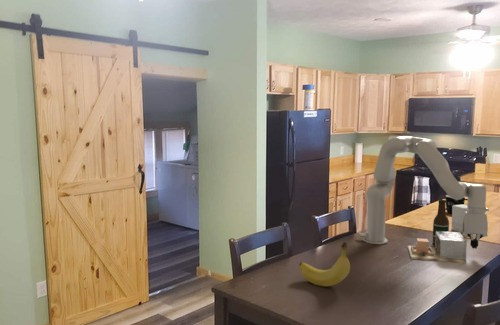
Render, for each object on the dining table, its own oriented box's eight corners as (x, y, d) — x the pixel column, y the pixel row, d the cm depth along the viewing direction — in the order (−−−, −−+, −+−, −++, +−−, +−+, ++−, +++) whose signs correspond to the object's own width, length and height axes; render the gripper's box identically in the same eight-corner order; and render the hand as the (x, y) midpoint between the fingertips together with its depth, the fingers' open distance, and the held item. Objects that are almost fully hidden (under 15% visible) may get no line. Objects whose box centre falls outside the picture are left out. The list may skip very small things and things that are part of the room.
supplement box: (474, 231, 244) (476, 206, 243) (463, 233, 241) (464, 208, 239) (461, 228, 253) (463, 203, 251) (450, 229, 249) (452, 205, 248)
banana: (295, 280, 173) (295, 233, 171) (303, 276, 178) (303, 230, 175) (345, 295, 159) (346, 244, 156) (352, 290, 163) (353, 240, 161)
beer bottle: (450, 247, 216) (452, 201, 214) (434, 246, 218) (435, 201, 215) (446, 242, 224) (448, 198, 221) (430, 241, 225) (432, 198, 223)
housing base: (410, 258, 199) (411, 253, 199) (407, 247, 216) (407, 242, 216) (466, 263, 192) (466, 257, 192) (458, 251, 209) (458, 246, 209)
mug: (436, 211, 298) (437, 194, 296) (454, 209, 302) (455, 193, 301) (454, 216, 282) (454, 199, 281) (472, 214, 287) (473, 197, 286)
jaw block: (417, 253, 204) (417, 241, 203) (416, 249, 209) (416, 238, 208) (428, 253, 203) (428, 241, 202) (426, 250, 207) (427, 238, 207)
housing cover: (440, 257, 196) (441, 239, 195) (435, 247, 211) (435, 230, 210) (465, 260, 193) (466, 241, 192) (459, 249, 208) (459, 232, 207)
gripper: (491, 209, 198) (489, 246, 200) (457, 207, 203) (455, 244, 205) (496, 212, 191) (493, 251, 193) (460, 210, 195) (458, 248, 197)
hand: (474, 247), depth 199 cm, fingers closed
